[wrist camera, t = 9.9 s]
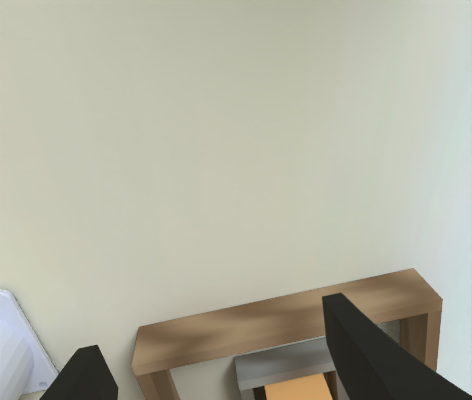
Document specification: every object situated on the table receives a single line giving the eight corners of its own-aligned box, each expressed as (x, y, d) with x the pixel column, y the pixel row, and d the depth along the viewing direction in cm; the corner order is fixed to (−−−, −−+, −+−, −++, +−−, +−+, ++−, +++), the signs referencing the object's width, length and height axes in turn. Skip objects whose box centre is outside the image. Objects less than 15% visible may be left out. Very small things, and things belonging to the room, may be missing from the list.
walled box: (196, 468, 30) (196, 512, 27) (138, 327, 23) (131, 366, 20) (407, 422, 30) (428, 460, 27) (413, 268, 23) (442, 299, 20)
